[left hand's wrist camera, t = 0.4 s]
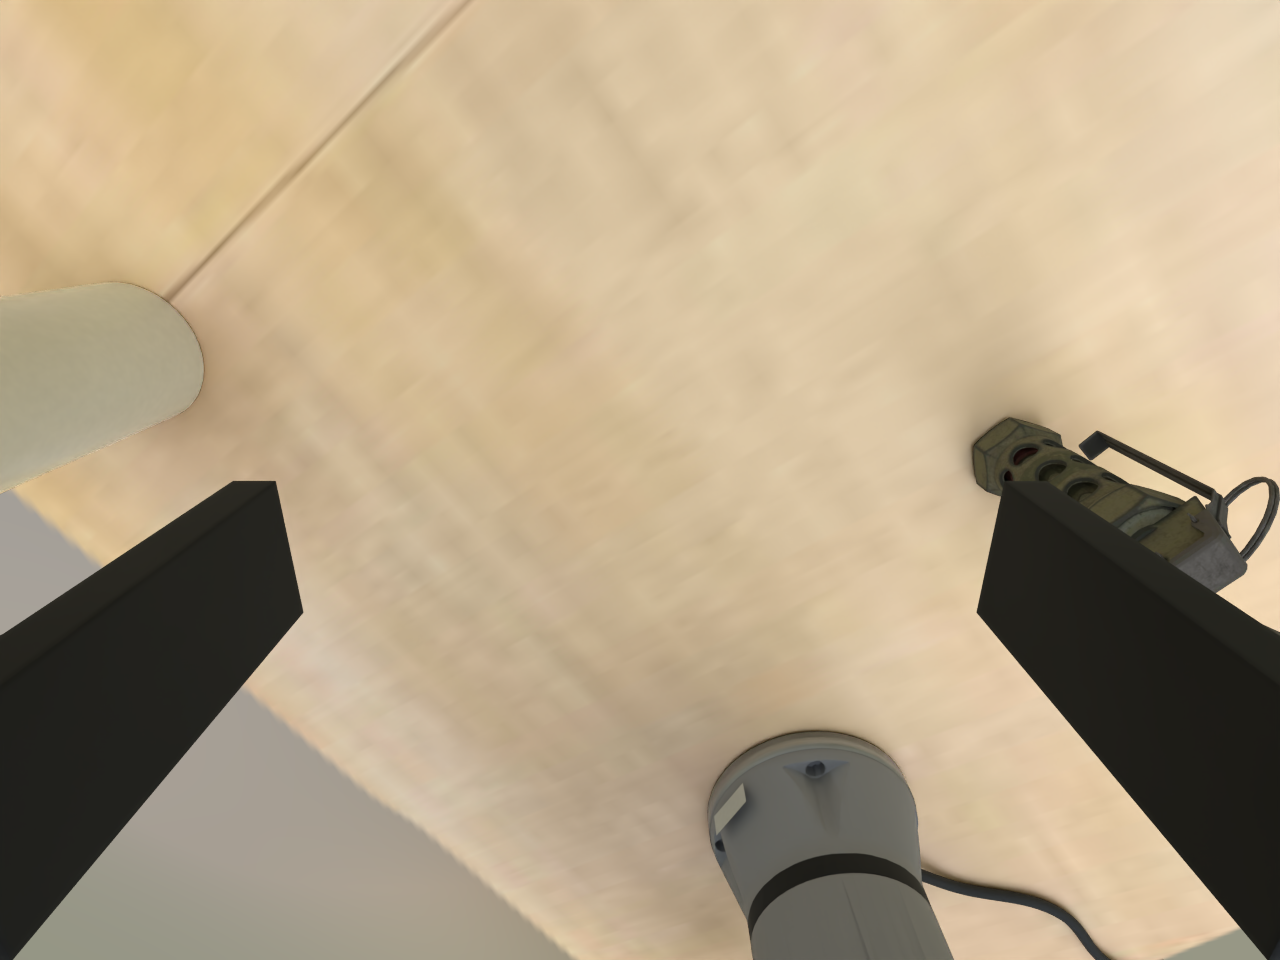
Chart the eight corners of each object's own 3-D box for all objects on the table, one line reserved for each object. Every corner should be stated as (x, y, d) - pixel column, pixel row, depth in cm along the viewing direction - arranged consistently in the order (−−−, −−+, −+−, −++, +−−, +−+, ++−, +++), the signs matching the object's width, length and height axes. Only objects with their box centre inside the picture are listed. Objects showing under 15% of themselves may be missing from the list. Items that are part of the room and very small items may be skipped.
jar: (117, 250, 37) (-241, 278, 22) (233, 365, 40) (-19, 461, 24) (31, 342, 39) (-355, 425, 24) (147, 446, 41) (-138, 583, 26)
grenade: (995, 529, 43) (1165, 681, 29) (942, 467, 42) (1094, 596, 28) (1121, 436, 41) (1369, 553, 27) (1069, 367, 39) (1304, 453, 25)
